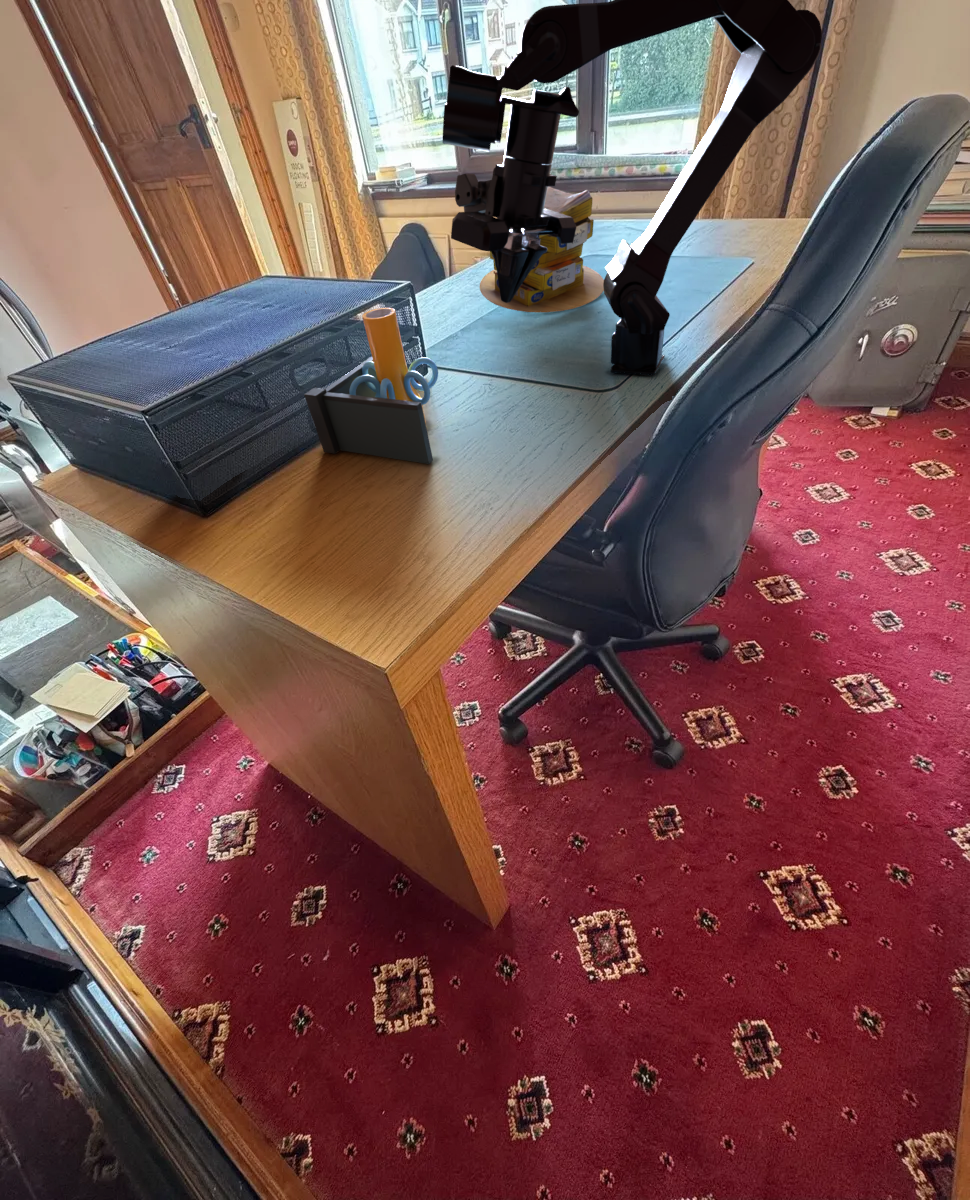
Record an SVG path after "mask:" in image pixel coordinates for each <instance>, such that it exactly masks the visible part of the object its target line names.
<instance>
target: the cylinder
mask: <svg viewBox="0 0 970 1200" xmlns="http://www.w3.org/2000/svg"><path fill="white" fill-rule="evenodd" d="M361 317H362V323H363V326H364V329H365V334H366V337H367V342H368V345H369V346H368V347H369V350H370V354H371V356H372V358H373V362H372V361H367V362H365V363H364V365H363V367H362V374H363V375H362V376H359V377H357V378H356V379H355V380H354V381H353V382H352V384H351V386H350V395H356V389H357V387H358V385H359V384H360V383H362V382H365V383H366V384H367V386H368V387H369V388H370V389H371V390H372V391H373V392H375V393H376V395H375V397H377V398H386V399H396V400H405V401H415V402H421V404H422V408H423V413H424V418H425V423H426V424H427V421H426V415H425V410H424V405H426V404H427V403H428V402H430V398H431V389H432V388H433V387H434V386H435V384H436V383H437V381H438V378H439V369H438V366H437V364H436V363H435V360H433V359H431V358H429V357H425V356H423V357H418V358H416V359H414V360H413V361H412V362H411V364H410V365H409V367H408V364H407V359H406V355H405V351H404V350H405V349H404V346H403V341H402V336H401V331H400V326H399V322H398V317H397V311H396V309H395V308H393V307H379V308H374V309H371V310H370V309H369V310H368V311H366V312H364V313H363V314H362V315H361ZM420 365H427V366H429V367H430V369H431V371H432V373H431V378H430V380H429V381H427V380H426V378H425V377H424V376H423V375H422V374H421V373H419V372H418V371H416V369H417V368H418V367H419V366H420ZM369 368H373V369H374V370H375V371H376V375H377V379H378V380H377V379H376V378H375V377H373V376H370V375H368V369H369ZM415 379H416V380H417V381H418V382H419V383H417V382H416V380H415ZM418 391H419V392H423V397H421V394H420V393H419V392H418Z"/></svg>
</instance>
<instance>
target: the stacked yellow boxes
mask: <svg viewBox="0 0 970 1200" xmlns="http://www.w3.org/2000/svg"><path fill="white" fill-rule="evenodd" d="M544 209H549V210H552V211H555V212H558V213H561V214H564V215H567V216H570V217H573V219H574V222H575V225H576V231H575V236H574V240H573V243H567V244H561V243H559V242H558V239H557V238H556V237H553V236H551V235H540V236H539V239H541V240H540V245H541V246H544V247H547V248H548V249H547V252H546V253H543V254H542V256H541V257H540V258H539V260H538V261H537V263H536V264H535V265H534V267H533V268H532V270H531V271H530V272H529V274H528V275H527V277H526V278H525V280H524V281H523V283H522V285H521V286H520V288H519V289H518V291H517V292H516V294H515V295H514V297H513V299H512V300H511V302H508V303H505V302H503V301H501V296H500V290H499V283H498V276H497V270H496V265H495V260H494V257H493V254H492V253H491V251H489V260H493V261H492V262H493V269H492V270H490V271H489V272H488V273H486V274H485V275H484V276H483V277H482V279H481V280H480V282H479V291H480V293H481V295H482V297H484V298H485V300H487V301H489V302H490V303H492V304H493V305H496V306H498V307H501V308H505V309H508V310H513V311H517V312H525V313H555V312H562V311H568V310H572V309H576V308H581V307H582V306H585V305H587V304H589V303H592V302H593V301H595V300H596V299H598V298H599V297H601V295H602V294H603V293H604V288H603V283H604V279H605V278H603V276H602V275H601V274H600V273H599V272H597V271H596V270H594V269H593V268H591V267H588V266H587V265H584V258H583V257H581V256H582V253H583V247H584V244H585V243H587V241H588V240H590V238H592V237H593V236H594V235H593V234H594V223H595V222H594V219H593V218H590V217H591V216H592V213H593V212H592V211H593V196H591V192H590V191H589V189H585V190H584V191H582V192H578V193H577V192H573V191H567V190H562V189H558V188H554V187H552V186H548V187H547V193H546V198H545V204H544Z"/></svg>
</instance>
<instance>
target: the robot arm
mask: <svg viewBox="0 0 970 1200" xmlns="http://www.w3.org/2000/svg"><path fill="white" fill-rule="evenodd" d="M711 18H712V19H713V20H714V21H715V22H716V23H717V24H718V26H719V28H721V30H722V32H723V34H724V35H725V36H726V38H727V39H728V41H729V42H730V44H731V45H732V46H733V47H734V48H735V49H736V50H737V52H739V54H740V57H739V59H738V61H737V63H736V66H735V68H734V70H733V72H732V75H731V79H730V81H729V84H728V86H727V87H728V88H727V91H726V94H725V97H724V100H723V103H722V105H721V108H720V110H719V111H718V113H717V114H716V116H715V118H714V119H713V121H712V122H711V124H710V125H709V127H708V129H707V130H706V132H705V133H704V136H703V137H702V139H701V141H699V144H698V145H697V147H696V149H695V150H694V152H693V154H692V155H691V156H690V158H689V160H688V162H687V163H686V165H685V166H684V168H683V169H682V171H681V172H680V174H679V175H678V178H677V179H676V180H675V182H674V184H673V186H672V187H671V189H670V190H669V192H668V194H667V195H666V197H665V199H664V201H663V202H662V203H661V205H660V207H659V209H658V210H657V211H656V213H655V215H654V217H653V218H652V220H651V221H650V223H649V225H648V226H647V228H646V229H645V231H644V232H643V233H642V234H641V236H639V237H638V238H637V239H636V240H635V241H634V242H633V243H631V244H629V242H628V241H627V240H626V239H622V240H621V242H619V245H618V248H617V250H616V252H615V255H614V257H613V258H612V260H611V261H610V262H609V263H608V264H607V265H606V266H605V267H604V270H605V273H606V274H605V276H604V278H603V279H604V283H603V288H604V291H603V293H604V296H605V298H606V300H607V303H608V304H609V306H610V308H611V310H612V312H613V313H614V315H616V317H618V318H620V319H618V321H617V323H616V324H615V331H614V332H613V333H612V335H611V339H610V340H611V341H610V343H611V344H610V364H611V365H612V366H611V367H610V368H609V369H610V371H609V372H610V373H613V374H625V375H638V376H639V375H640V376H655V375H656V374H657V372H658V370H660V367H661V366H662V363H664V361H665V355H664V354H663V348H664V340H665V339H664V338H665V330H666V329H665V328H666V326H667V323H668V321H669V318H670V317H671V313H670V312H669V311H668V309H667V308H666V307H665V305H664V304H663V302H662V301H661V300H660V298H659V297H658V296H657V294H658V292H659V291H660V288H661V287H662V285H663V281H664V279H665V276H666V272H667V269H668V266H669V262H670V260H671V257H672V255H673V253H674V251H675V249H676V248H677V246H678V245H679V243H680V242H681V240H682V239H683V238H684V236H685V234H686V233H687V231H688V230H689V229H690V226H691V225H692V223H694V221H695V219H696V218H697V216H698V215H699V213H700V212H701V210H702V208H703V207H704V206H705V204H706V203H707V201H708V199H710V197H711V195H712V194H713V192H714V191H715V189H716V188H717V186H718V184H719V183H720V181H721V180H722V178H723V176H724V175H725V174H726V172H727V171H728V169H729V168H730V166H732V165H731V164H733V162H734V160H735V159H736V157H737V155H738V154H739V153H740V151H741V149H742V148H743V146H744V145H745V143H746V142H747V140H748V139H749V138H750V136H751V134H752V133H753V131H754V130H755V129H756V128H757V127H758V126H759V125H760V124H761V123H762V122H763V121H764V120H765V119H766V118H767V117H768V116H769V115H770V114H771V113H773V112H774V111H775V110H776V109H777V108H778V107H779V106H781V104H782V103H784V102H785V100H786V99H787V98H788V97H789V96H790V94H792V92H793V91H794V90H795V89H796V88H797V87H798V85H799V84H801V82H802V81H803V79H804V78H805V77H806V76H807V75H808V73H810V71H811V70H812V69H813V67H814V65H815V64H816V61H817V59H819V55H820V53H821V50H822V48H823V47H822V38H823V37H822V35H823V30H822V26H821V21H820V20H819V18H818V17H817V15H816V13H814V12H812V11H810V10H809V9H796V7H794V5H793V4H792V3H791V2H790V1H789V0H610V1H604V2H603V1H602V2H587V3H569V4H556V5H555V4H554V5H547V6H543V7H541V8H539V9H537V10H536V11H535V12H533V14H532V15H531V16H530V17H529V18H528V19H527V20H526V22H525V24H524V25H523V28H522V29H521V32H520V36H519V40H518V51H517V53H515V55H514V56H513V58H512V59H511V60H510V62H509V63H508V64H507V65H506V66H502V72H501V73H500V75H499V76H497V75H490V74H486V73H481V72H477V71H472V70H469V69H467V68H465V67H463V66H459V65H454V64H452V65H451V66H450V67H449V77H448V86H447V93H446V94H447V96H446V103H444V107H443V108H444V109H443V122H442V144H444V145H449V146H454V147H460V148H465V149H470V150H476V151H481V152H485V153H490V152H491V146H492V145H491V144H494V145H496V143H498V144H501V141H502V134H503V127H504V121H505V120H504V119H505V111H506V105H510V112H509V118H508V126H507V133H506V142H505V149H504V155H503V162H502V164H495V167H494V168H493V170H492V175H491V179H488V180H478V178H477V176H476V174H475V173H462V174H459V175H457V176H456V182H455V188H454V200H455V204H456V205H457V207H459V208H463V211H458V212H457V214H456V215H455V216H454V217H453V218H452V221H451V232H450V239H451V240H454V241H456V242H458V243H462V244H464V245H467V246H469V247H472V248H474V249H477V250H480V251H481V252H482V251H483V252H490V251H491V253H492V254H493V257H494V260H495V265H496V270H497V276H498V283H499V290H500V296H501V301H503V302H505V303H508V302H511V300H512V299H513V297H514V295H515V294H516V292H517V291H518V289H519V288H520V286H521V285H522V283H523V281H524V280H525V278H526V277H527V275H528V274H529V272H530V271H531V270H532V268H533V267H534V265H535V264H536V263H537V261H538V260H539V258H540V257H541V256H542V254H543V253H546V252H547V249H548V248H547V247H544V246H541V245H540V240H541V239H539V236H540V235H551V236H553V237H556V238H557V239H558V242H559V243H561V244H567V243H573V240H574V236H575V231H576V225H575V222H574V219H573V217H570V216H567V215H564V214H561V213H558V212H555V211H552V210H549V209H544V204H545V198H546V193H547V187H549V186H550V187H556V183H557V178H558V175H554V174H551V172H552V171H551V170H552V165H553V158H554V153H555V149H556V148H555V147H556V142H557V137H558V132H559V126H560V121H561V116H566V117H572V118H577V117H578V116H579V114H580V109H579V108H578V107H577V105H576V102H575V101H574V99H573V95H572V91H571V88H570V87H569V86H564V88H562V90H561V91H559V93H557V92H550V91H545V90H540V89H535V88H534V89H533V91H532V95H531V99H530V100H526V99H521V98H517V97H516V98H515V97H511V96H506V95H502V93H503V89H508V90H513V91H520V90H522V89H523V88H525V87H527V86H528V85H530V83H532V82H537V83H539V84H552V83H555V82H557V81H559V80H561V79H562V78H564V77H567V76H568V75H570V74H572V73H574V72H575V71H577V70H579V69H581V68H582V67H585V65H587V64H589V63H590V62H592V61H594V60H595V59H597V58H599V57H600V56H602V55H603V54H605V53H607V52H609V51H611V50H614V49H616V48H619V47H620V48H621V47H623V46H626V45H629V44H632V43H636V42H639V41H642V40H645V39H648V38H651V37H654V36H657V35H661V34H664V33H666V32H667V33H668V32H670V31H674V30H676V29H679V28H682V27H685V26H689V25H692V24H696V23H699V22H702V21H704V20H708V19H711Z"/></svg>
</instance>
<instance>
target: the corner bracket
mask: <svg viewBox="0 0 970 1200" xmlns="http://www.w3.org/2000/svg"><path fill="white" fill-rule="evenodd" d="M367 361H372V362H373V358H372V355H371V356H369V357H368V358H367V359H365V360H364V361H362V362H360V363H361V364H360V365H358V366H357V367H355V368H354V369H353V370H351V371H350V372H348V373H347V374H345V375H344V376H342V377H341V378H340V379H338V380H337V381H335V382H334V383H332V384H331V385H330V386H328V387H327V388H321V387H313V388H311V389H310V390H308V391H307V392H305V393H304V395H303V396H304V399H305V402H306V406H307V407H308V410H309V414H310V416H311V419H312V422H313V425H314V427H315V430H316V434H317V436H318V439H319V442H320V445H321V448H322V451H323V453H327V454H334V455H335V454H338V452H339V451H342V452H348V453H354V454H355V453H356V454H360V455H361V454H362V455H368V456H375V457H381V458H388V459H394V460H400V461H407V462H413V463H420V464H427V465H430V464H431V463H432V462H433V461H434V457H433V454H432V448H431V442H430V439H429V433H428V429H427V422H426V423H425V420H426V417H425V418H424V415H425V412H424V413H423V410H424V407H423V408H422V404H421V402H415V401H405V400H396V399H386V398H377V397H375V395H376V393H375V392H373V391H372V390H371V389H370V388H369V387H368V386H367V384H366V383H365V382H362V383H360V384H359V385H358V387H357V389H356V395H350V386H351V384H352V382H353V381H354V380H355V379H356V378H357V377H359V376H362V375H363V374H362V367H363V365H364V363H365V362H367ZM368 375H370V376H373V377H375V378H376V379H377V375H376V371H375V370H374V369H373V368H369V369H368ZM377 380H378V379H377Z"/></svg>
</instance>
